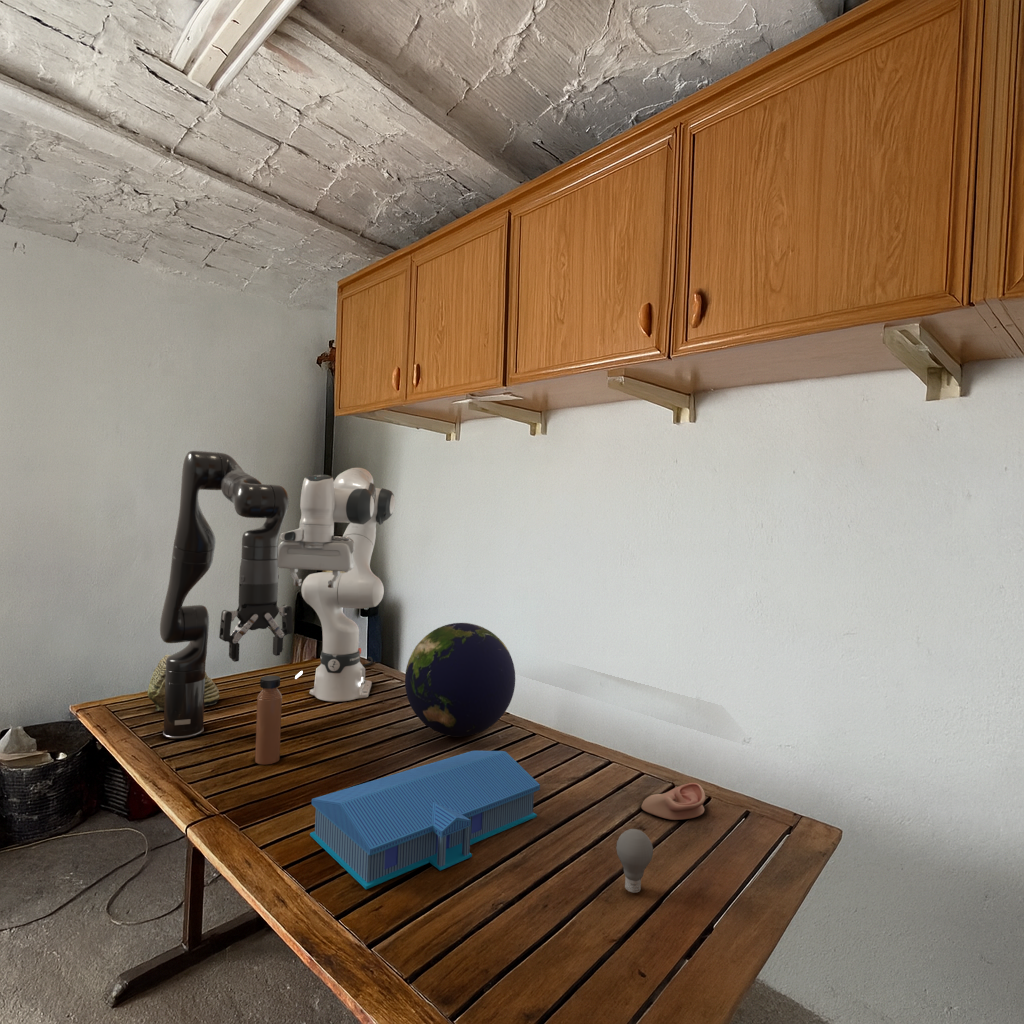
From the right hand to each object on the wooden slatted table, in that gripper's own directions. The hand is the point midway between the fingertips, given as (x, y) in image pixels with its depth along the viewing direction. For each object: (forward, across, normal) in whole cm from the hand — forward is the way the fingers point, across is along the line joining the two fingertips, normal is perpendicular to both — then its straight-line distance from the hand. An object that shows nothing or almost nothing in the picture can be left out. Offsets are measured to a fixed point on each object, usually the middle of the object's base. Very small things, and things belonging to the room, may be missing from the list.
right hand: (314, 586), depth 170 cm
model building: (+39, -42, +45) cm, 73 cm away
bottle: (+39, +2, +20) cm, 44 cm away
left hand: (+10, -2, +38) cm, 39 cm away
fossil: (+39, +42, -12) cm, 59 cm away
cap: (+20, +2, +20) cm, 28 cm away
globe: (+39, -40, -5) cm, 56 cm away
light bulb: (+39, -79, +60) cm, 106 cm away
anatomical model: (+39, -91, +29) cm, 103 cm away
